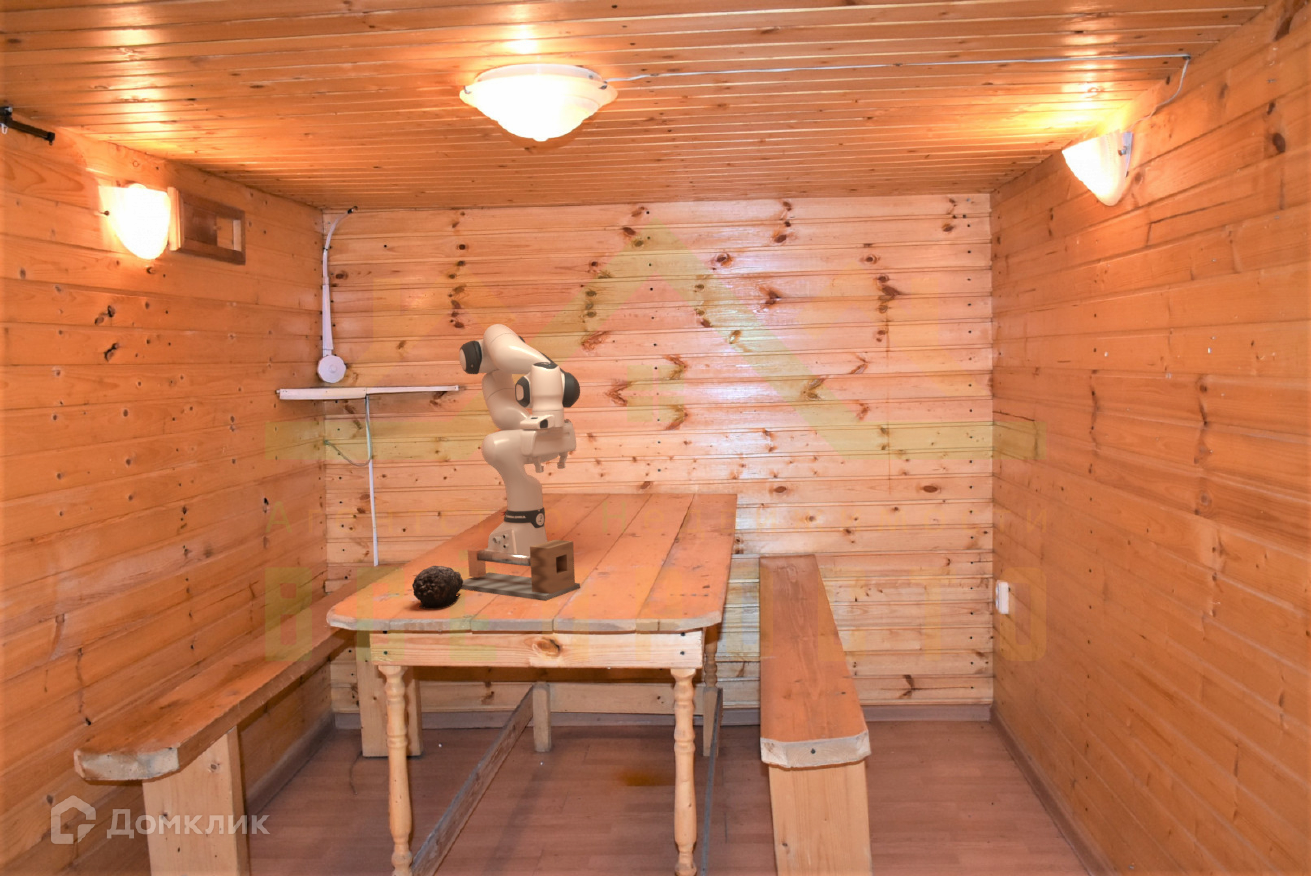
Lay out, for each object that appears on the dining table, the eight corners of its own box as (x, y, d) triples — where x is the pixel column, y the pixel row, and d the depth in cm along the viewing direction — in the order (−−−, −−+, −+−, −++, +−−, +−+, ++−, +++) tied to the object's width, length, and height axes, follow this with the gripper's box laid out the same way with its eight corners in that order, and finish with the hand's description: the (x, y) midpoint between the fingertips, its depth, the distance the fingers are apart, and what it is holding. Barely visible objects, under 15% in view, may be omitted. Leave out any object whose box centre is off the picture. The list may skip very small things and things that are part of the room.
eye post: (452, 587, 248) (450, 540, 247) (489, 576, 260) (486, 531, 259) (545, 600, 231) (543, 550, 230) (580, 587, 242) (577, 539, 241)
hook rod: (469, 576, 252) (467, 550, 251) (477, 573, 255) (476, 548, 254) (528, 583, 240) (527, 556, 240) (536, 581, 243) (535, 554, 243)
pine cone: (468, 592, 242) (466, 555, 241) (451, 611, 224) (448, 570, 224) (428, 594, 243) (426, 556, 242) (408, 612, 225) (406, 571, 224)
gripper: (563, 418, 268) (565, 465, 269) (515, 423, 251) (518, 474, 252) (580, 418, 264) (582, 466, 265) (533, 423, 247) (535, 475, 248)
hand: (550, 470), depth 258 cm, fingers open, 8 cm apart
